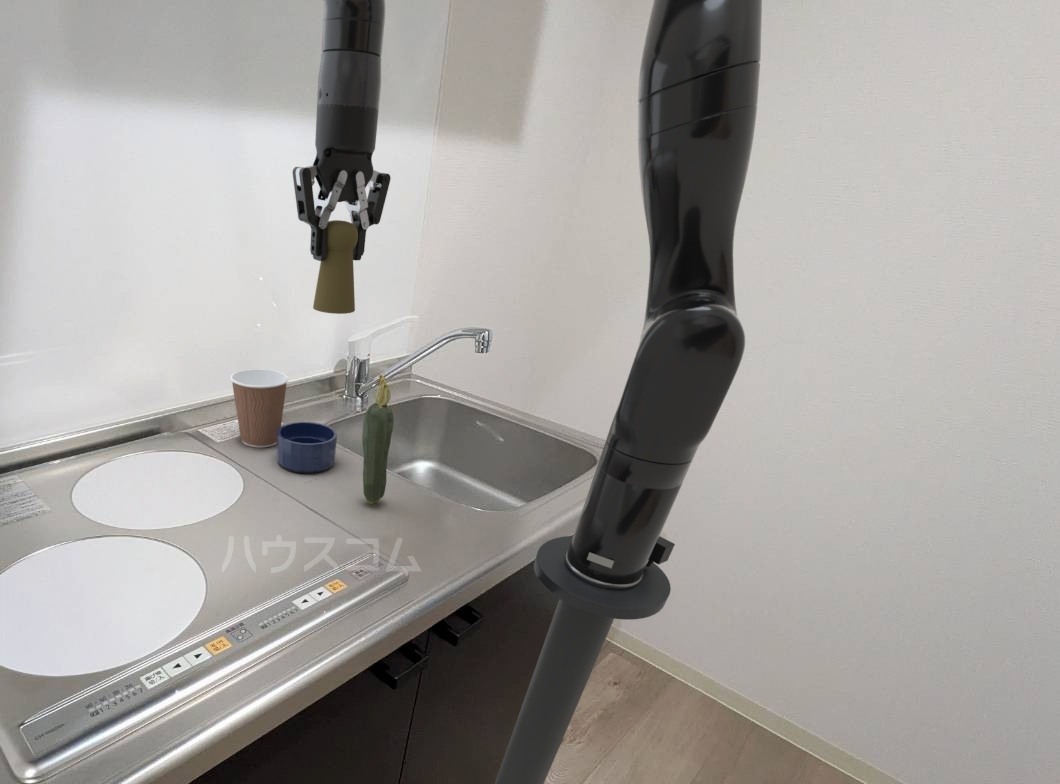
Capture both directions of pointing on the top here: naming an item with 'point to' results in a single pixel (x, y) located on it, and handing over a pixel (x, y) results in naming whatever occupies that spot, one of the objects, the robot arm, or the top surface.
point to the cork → (337, 270)
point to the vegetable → (377, 443)
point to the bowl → (306, 446)
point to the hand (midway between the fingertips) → (337, 259)
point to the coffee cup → (259, 405)
